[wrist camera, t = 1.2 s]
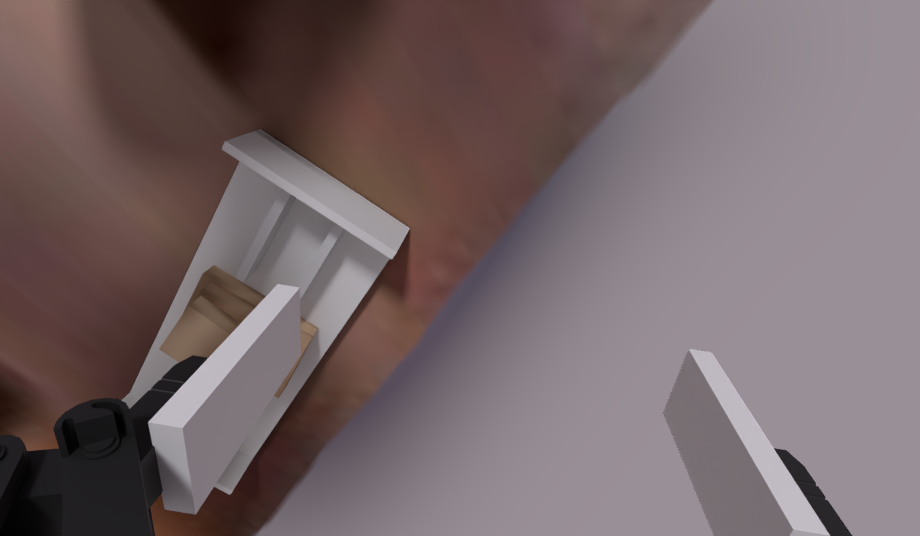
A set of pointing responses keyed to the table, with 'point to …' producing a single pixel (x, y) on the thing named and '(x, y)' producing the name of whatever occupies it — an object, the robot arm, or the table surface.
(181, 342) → the offcut top
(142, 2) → the table surface
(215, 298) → the offcut middle
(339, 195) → the rack
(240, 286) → the offcut bottom
